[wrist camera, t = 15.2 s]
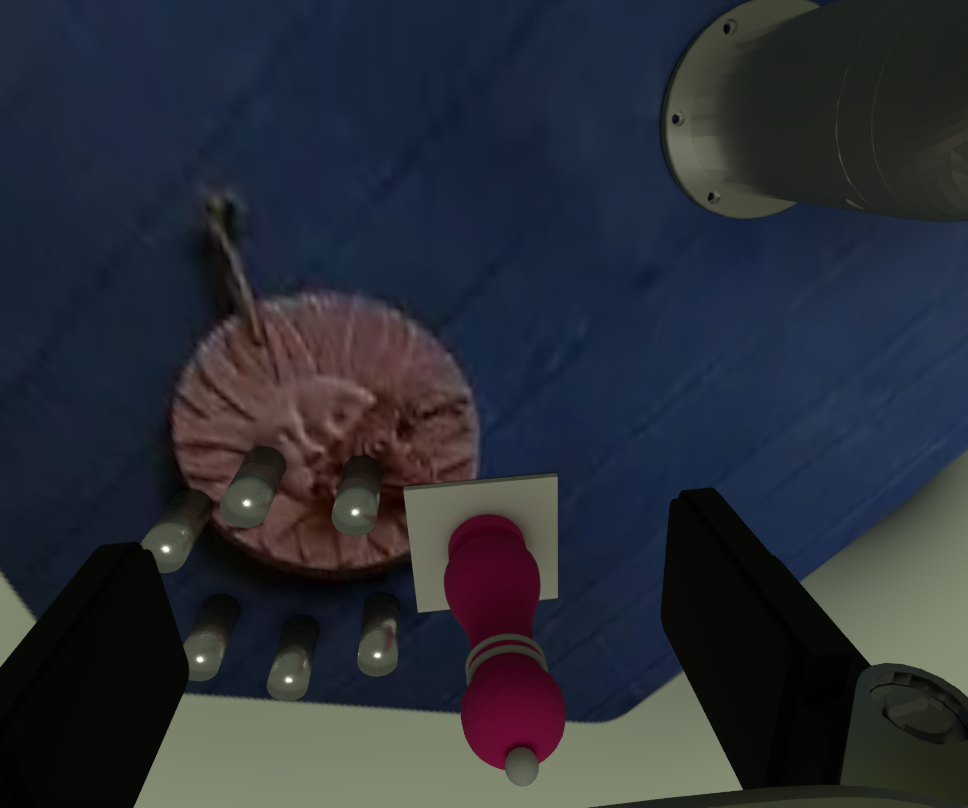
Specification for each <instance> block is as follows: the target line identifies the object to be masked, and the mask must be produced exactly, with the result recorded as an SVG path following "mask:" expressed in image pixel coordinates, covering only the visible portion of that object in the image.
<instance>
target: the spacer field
mask: <svg viewBox="0 0 968 808" xmlns="http://www.w3.org/2000/svg"><path fill="white" fill-rule="evenodd" d="M285 470H286V461H285V458H284V457H283V455H282V454H281V453H280V452H279V451H277V450H276V449H274V448H271V447H266V446H261V447H256V448H254V449H252V450H251V451H250V452H249V453H248V454H247V455H246V457H245V459H244V461H243V462H242V464H241V466H240V468H239V469H238V471H237V473H236V475H235V477H234V478H233V480H232V482H231V484H230V485H229V487H228V489H227V491H226V492H225V494H224V496H223V498H222V500H221V502H220V510H221V513H222V515H223V517H224V518H225V519H226V520H227V521H228V522H230V523H231V524H233V525H235V526H238V527H245V528H246V527H253V526H256V525H258V524H260V523H261V522H262V521H263V520H264V519H265V517H266V515H267V513H268V511H269V508H270V506H271V504H272V501H273V499H274V496H275V494H276V492H277V489H278V487H279V485H280V482H281V480H282V477H283V475H284V473H285ZM381 481H382V469H381V466H380V465H379V463H378V462H377V461H375V460H374V459H372V458H370V457H367V456H357V457H354V458H352V459H350V460H349V461H348V462H346V464H345V465H344V467H343V471H342V475H341V479H340V483H339V487H338V491H337V496H336V500H335V504H334V508H333V512H332V522H333V524H334V526H335V527H336V528H337V529H338V530H339V531H340V532H342V533H343V534H346V535H349V536H360V535H364V534H366V533H368V532H369V531H371V530H372V529H373V528H374V526H375V524H376V521H377V514H378V506H379V498H380V490H381ZM212 513H213V503H212V501H211V499H210V498H209V496H208V495H206V494H205V493H204V492H202V491H199V490H196V489H185V490H182V491H179V492H178V493H177V494H176V495H175V496H174V497H173V499H172V500H171V501H170V503H169V504H168V506H167V507H166V509H165V510H164V511H163V513H162V514H161V516H160V517H159V518H158V520H157V521H156V523H155V524H154V526H153V527H152V528H151V530H150V531H149V533H148V534H147V535H146V537H145V538H144V540H143V541H142V543H141V544H140V545H141V546H142V547H143V549H149V550H151V551H152V553H153V555H154V557H155V560H156V563H157V567H158V570H159V572H160V573H169V572H173V571H176V570H178V569H179V568H180V567H181V566H182V565H183V564H184V562H185V560H186V558H187V557H188V555H189V553H190V551H191V550H192V548H193V546H194V544H195V543H196V541H197V539H198V537H199V536H200V534H201V532H202V530H203V529H204V527H205V525H206V523H207V522H208V520H209V518H210V516H211V515H212ZM240 612H241V608H240V605H239V603H238V602H237V601H236V600H235V599H234V598H232V597H230V596H228V595H223V594H218V595H213V596H210V597H209V598H207V599H206V600H205V602H204V603H203V606H202V608H201V610H200V612H199V614H198V616H197V618H196V620H195V622H194V624H193V626H192V629H191V631H190V633H189V635H188V637H187V639H186V641H185V643H184V645H183V647H184V650H185V653H186V656H187V659H188V663H189V680H192V681H205V680H208V679H210V678H212V677H214V676H215V675H216V673H217V671H218V669H219V666H220V664H221V661H222V659H223V656H224V653H225V651H226V648H227V646H228V643H229V641H230V638H231V635H232V633H233V630H234V628H235V625H236V623H237V620H238V617H239V615H240ZM399 617H400V603H399V601H398V599H397V598H396V597H395V596H393V595H391V594H389V593H376V594H373V595H371V596H370V597H369V598H368V599H367V600H366V602H365V605H364V612H363V620H362V628H361V636H360V644H359V652H358V660H357V664H358V667H359V669H360V670H361V671H362V672H363V673H365V674H367V675H370V676H376V677H378V676H384V675H387V674H389V673H391V672H392V671H393V670H394V669H395V667H396V665H397V659H398V638H399ZM319 631H320V628H319V625H318V623H317V622H316V621H315V620H314V619H313V618H311V617H309V616H304V615H298V616H294V617H291V618H289V619H288V620H287V621H286V622H285V624H284V627H283V630H282V634H281V637H280V641H279V644H278V648H277V651H276V655H275V658H274V662H273V665H272V669H271V672H270V675H269V679H268V682H267V690H268V692H269V693H270V695H271V696H273V697H274V698H276V699H278V700H282V701H293V700H297V699H299V698H301V697H302V696H303V695H304V694H305V693H306V691H307V688H308V683H309V678H310V674H311V669H312V664H313V659H314V655H315V650H316V645H317V640H318V636H319Z"/></svg>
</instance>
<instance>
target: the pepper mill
mask: <svg viewBox="0 0 968 808" xmlns="http://www.w3.org/2000/svg"><path fill="white" fill-rule="evenodd" d="M448 556H449V562H448V564H447V566H446V569H445V573H444V590H445V596H446V600H447V603H448V605H449V607H450V609H451V611H452V613H453V615H454V617H455V618H456V619H457V620H458V622H459V623H460V624H461V625H462V626H463V628H464V629H465V631H466V633H467V635H468V637H469V641H470V646H471V650H472V651H471V653H470V654H469V656H468V658H467V662H466V674H467V686H468V687H467V690H466V692H465V694H464V696H463V699H462V705H461V720H462V726H463V730H464V735H465V737H466V739H467V741H468V743H469V745H470V747H471V749H472V750H473V751H474V753H475V754H476V755H477V756H478V757H479V758H480V759H482V760H483V761H484V762H486V763H488V764H489V765H491V766H494V767H496V768H499V769H502V770H505V771H506V774H507V776H508V778H509V780H510V781H511V782H513V783H514V784H515V785H517V786H527V785H529V784H531V783H532V782H533V781H534V780H535V779H536V777H537V774H538V768H539V765H538V764H539V763H541V762H542V761H544V760H545V759H546V758H547V757H548V756H550V754H552V752H553V751H554V750H555V749H556V748H557V746H558V744H559V742H560V740H561V738H562V736H563V731H564V727H565V720H566V715H565V705H564V699H563V696H562V693H561V690H560V688H559V686H558V685H557V683H556V681H555V680H554V679H553V678H552V677H551V675H550V674H548V669H547V666H546V663H545V657H544V653H543V651H542V649H541V648H540V647H539V645H538V644H537V643H536V642H535V641H533V636H532V621H533V618H534V614H535V611H536V608H537V606H538V602H539V598H540V590H541V583H540V574H539V568H538V565H537V562H536V560H535V559H534V557H533V555H532V554H531V553H530V552H529V551H528V550H527V548H526V544H525V540H524V537H523V534H522V532H521V530H520V529H519V527H518V526H517V525H515V524H514V523H513V522H512V521H510V520H509V519H507V518H504V517H502V516H497V515H491V514H489V515H479V516H476V517H473V518H470V519H468V520H467V521H465V522H464V523H462V524H461V525H460V526H459V527H458V528H457V529H456V530H455V531H454V532H453V534H452V536H451V538H450V541H449V544H448Z"/></svg>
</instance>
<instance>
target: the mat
mask: <svg viewBox="0 0 968 808" xmlns="http://www.w3.org/2000/svg"><path fill="white" fill-rule="evenodd" d="M404 498H405V507H406V515H407V523H408V532H409V540H410V549H411V557H412V566H413V574H414V583H415V591H416V599H417V608H418V613H419V612H428V611H438V610H447V609H450V607H449V605H448V603H447V600H446V596H445V590H444V573H445V569H446V566H447V564H448V562H449V556H448V544H449V541H450V538H451V536H452V534H453V532H454V531H455V530H456V529H457V528H458V527H459V526H460V525H461V524H462V523H464V522H465V521H467V520H468V519H470V518H473V517H476V516H479V515H489V514H491V515H497V516H502V517H504V518H507V519H509V520H510V521H512V522H513V523H514V524H515V525H517V526H518V527H519V529H520V530H521V532H522V534H523V537H524V540H525V544H526V548H527V550H528V551H529V552H530V553H531V554H532V555H533V557H534V559H535V560H536V562H537V565H538V568H539V574H540V583H541V590H540V598H539V600H543V599H552V598H558V476H557V474H556V473H549V474H538V475H527V476H516V477H505V478H494V479H483V480H472V481H461V482H450V483H439V484H428V485H417V486H406V487H404Z"/></svg>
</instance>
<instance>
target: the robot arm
mask: <svg viewBox="0 0 968 808" xmlns="http://www.w3.org/2000/svg"><path fill="white" fill-rule="evenodd" d="M724 25H725V26H726V27H727V32H726V34H725V33H724V30H723V26H724ZM673 115H675V116H676V117H677V121H676V122H675V123H674V124H673V123H672V117H673ZM661 136H662V147H663V151H664V155H665V159H666V163H667V165H668V168H669V170H670V172H671V174H672V176H673V178H674V180H675V182H676V183H677V184H678V186H679V187H680V188H681V190H682V191H683V192H684V194H685V195H686V196H688V197H689V198H690V199H691V200H692V201H694V202H695V203H696V204H697V205H699V206H700V207H702V208H704V209H706V210H708V211H710V212H712V213H715V214H719V215H722V216H726V217H732V218H739V219H750V218H761V217H765V216H769V215H773V214H777V213H779V212H781V211H783V210H785V209H788V208H790V207H792V206H794V205H796V204H797V203H805V204H811V205H818V206H825V207H831V208H838V209H844V210H851V211H857V212H864V213H870V214H877V215H884V216H890V217H897V218H906V219H913V220H920V221H927V222H959V221H968V0H839V1H836V2H833V3H830V4H828V5H825V6H822V7H821V6H820V5H818V4H817V3H815V2H812V1H809V0H752V1H749V2H746V3H744V4H741V5H739V6H737V7H735V8H733V9H731V10H729V11H727V12H725V13H723V14H722V15H721V16H719V17H718V18H717V19H715V20H714V21H713V22H711V23H710V24H709V25H707V26H706V27H705V28H704V29H703V30H702V31H701V32H700V33H699V35H698V36H697V37H696V38H695V39H694V40H693V41H692V42H691V43H690V45H689V46H688V48H687V49H686V51H685V52H684V54H683V55H682V57H681V58H680V60H679V61H678V63H677V65H676V68H675V70H674V72H673V74H672V77H671V79H670V81H669V83H668V87H667V91H666V94H665V98H664V102H663V108H662V118H661ZM709 193H711V195H712V196H711V198H710V199H709V200H708V195H709ZM661 621H662V625H663V629H664V631H665V634H666V636H667V638H668V640H669V642H670V644H671V646H672V648H673V650H674V652H675V654H676V656H677V658H678V660H679V662H680V664H681V666H682V668H683V670H684V672H685V674H686V676H687V678H688V680H689V682H690V684H691V686H692V688H693V690H694V692H695V694H696V696H697V698H698V700H699V702H700V704H701V706H702V708H703V710H704V712H705V714H706V716H707V718H708V720H709V722H710V724H711V726H712V728H713V730H714V732H715V734H716V736H717V738H718V740H719V742H720V744H721V746H722V748H723V750H724V752H725V754H726V756H727V758H728V760H729V762H730V764H731V766H732V768H733V770H734V772H735V774H736V776H737V778H738V780H739V782H740V784H741V786H742V788H743V790H740V791H731V792H720V793H711V794H701V795H692V796H682V797H673V798H664V799H655V800H647V801H639V802H631V803H623V804H615V805H606V806H598V807H590V808H968V697H967V696H966V695H964V694H963V693H962V692H961V691H960V690H959V689H958V688H956V687H955V686H953V685H951V684H950V683H948V682H947V681H945V680H944V679H942V678H940V677H938V676H935V675H933V674H931V673H929V672H926V671H924V670H922V669H919V668H915V667H911V666H907V665H904V664H892V663H883V664H878V665H873V666H871V665H870V664H869V663H868V661H867V660H866V659H865V658H864V657H863V656H862V655H861V654H860V652H859V651H858V650H857V649H856V648H855V646H854V645H853V644H852V643H851V642H850V641H849V639H848V638H847V637H846V636H845V635H844V634H843V633H842V632H841V630H840V629H839V628H838V627H837V626H836V624H835V623H834V622H833V621H832V620H831V619H830V618H829V616H828V615H827V614H826V613H825V612H824V611H823V609H822V608H821V607H820V606H819V605H818V604H817V602H816V601H815V600H814V599H813V598H812V597H811V596H810V594H809V593H808V592H807V591H806V590H805V588H804V587H803V586H802V585H801V584H800V583H799V581H798V580H797V579H796V578H795V577H794V576H793V575H792V573H791V572H790V571H789V570H788V569H787V568H786V566H785V565H784V564H783V563H782V562H781V561H780V560H779V559H778V558H777V557H776V556H774V555H771V553H770V552H769V551H768V550H767V549H766V548H765V546H764V545H763V544H762V543H761V542H760V541H759V539H758V538H757V537H756V536H755V535H754V534H753V532H752V531H751V530H750V529H749V528H748V527H747V525H746V524H745V523H744V522H743V521H742V519H741V518H740V517H739V516H738V515H737V514H736V512H735V511H734V510H733V509H732V508H731V507H730V505H729V504H728V503H727V502H726V501H725V500H724V498H723V497H722V496H721V495H720V494H719V493H718V491H717V490H715V489H714V488H701V489H691V490H683V491H681V492H680V494H679V498H678V499H673V500H671V502H670V508H669V520H668V532H667V543H666V555H665V567H664V579H663V591H662V602H661ZM188 679H189V663H188V659H187V656H186V653H185V650H184V647H183V644H182V641H181V637H180V634H179V631H178V628H177V625H176V622H175V619H174V616H173V613H172V610H171V607H170V604H169V600H168V597H167V594H166V591H165V588H164V585H163V582H162V579H161V576H160V573H159V570H158V567H157V563H156V560H155V557H154V555H153V553H152V551H151V550H149V549H143V547H142V546H141V545H140V544H139V543H137V542H128V543H118V544H107V545H101V546H99V547H98V548H97V549H96V550H95V551H94V552H93V553H92V554H91V556H90V557H89V558H88V559H87V561H86V562H85V563H84V564H83V566H82V567H81V568H80V569H79V570H78V572H77V573H76V574H75V575H74V577H73V578H72V579H71V580H70V582H69V583H68V584H67V585H66V587H65V588H64V589H63V590H62V592H61V593H60V594H59V595H58V596H57V598H56V599H55V600H54V601H53V603H52V604H51V605H50V606H49V608H48V609H47V610H46V611H45V613H44V614H43V615H42V616H41V618H40V619H39V620H38V621H37V622H36V624H35V625H34V626H33V628H32V629H31V630H30V631H29V632H28V634H27V635H26V636H25V637H24V639H23V640H22V641H21V642H20V644H19V645H18V646H17V647H16V648H15V650H14V651H13V652H12V653H11V655H10V656H9V657H8V658H7V660H6V661H5V662H4V663H3V665H2V666H1V667H0V808H133V807H134V805H135V803H136V801H137V798H138V796H139V794H140V792H141V789H142V787H143V785H144V782H145V780H146V778H147V776H148V773H149V771H150V768H151V766H152V764H153V762H154V759H155V757H156V755H157V753H158V750H159V748H160V746H161V743H162V741H163V739H164V737H165V734H166V732H167V729H168V727H169V725H170V723H171V720H172V718H173V716H174V714H175V711H176V709H177V707H178V704H179V702H180V700H181V697H182V695H183V693H184V691H185V688H186V686H187V683H188Z"/></svg>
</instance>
